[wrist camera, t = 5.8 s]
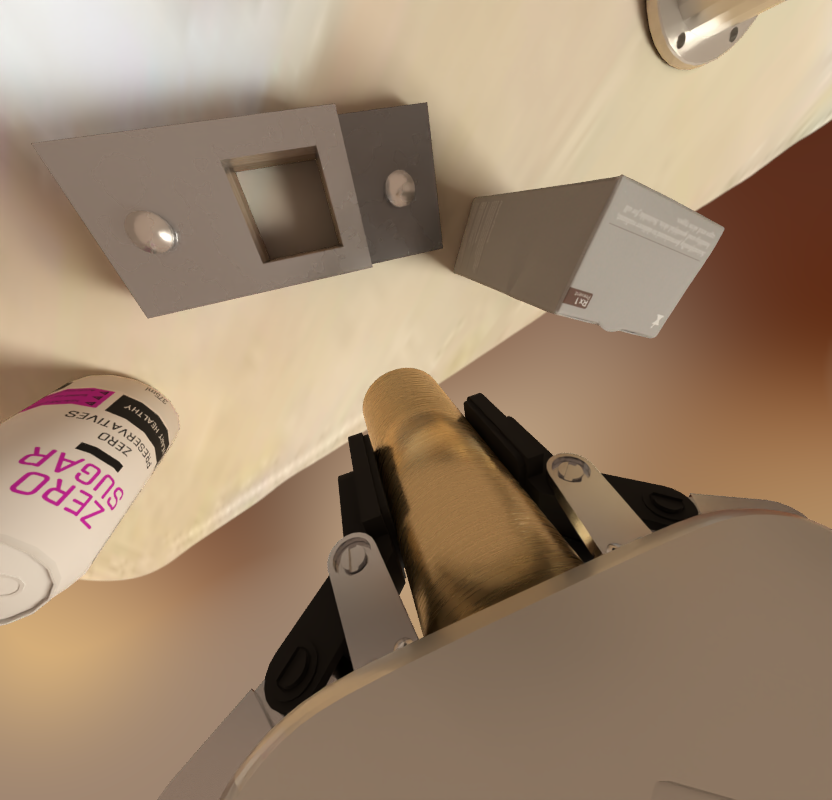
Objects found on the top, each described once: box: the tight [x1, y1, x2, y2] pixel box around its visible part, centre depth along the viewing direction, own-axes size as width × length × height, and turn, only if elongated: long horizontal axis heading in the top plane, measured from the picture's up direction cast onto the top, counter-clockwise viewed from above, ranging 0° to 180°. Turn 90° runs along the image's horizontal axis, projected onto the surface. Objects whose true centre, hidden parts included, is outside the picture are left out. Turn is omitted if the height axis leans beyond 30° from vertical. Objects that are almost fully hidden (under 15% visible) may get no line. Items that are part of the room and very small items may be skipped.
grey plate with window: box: [31, 102, 443, 318], centre depth 20 cm, size 22×9×5 cm, turn 100°
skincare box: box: [454, 175, 724, 338], centre depth 22 cm, size 8×7×16 cm
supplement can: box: [0, 375, 180, 625], centre depth 19 cm, size 8×8×15 cm
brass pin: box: [363, 368, 584, 637], centre depth 10 cm, size 4×4×10 cm
